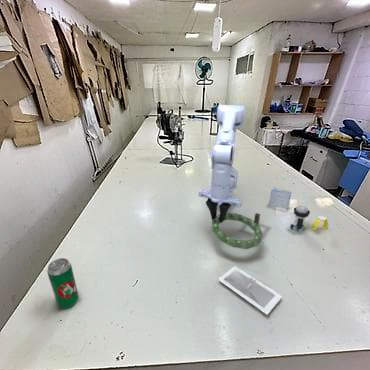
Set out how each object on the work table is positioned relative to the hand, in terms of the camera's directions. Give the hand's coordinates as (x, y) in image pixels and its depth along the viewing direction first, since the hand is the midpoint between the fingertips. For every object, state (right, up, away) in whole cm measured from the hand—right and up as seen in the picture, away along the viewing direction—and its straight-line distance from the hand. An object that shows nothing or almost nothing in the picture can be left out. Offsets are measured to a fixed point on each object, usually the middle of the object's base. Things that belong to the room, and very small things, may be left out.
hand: (217, 220), depth 79 cm
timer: (+40, -4, +9) cm, 41 cm away
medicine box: (+31, +2, +27) cm, 41 cm away
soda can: (-41, -18, -19) cm, 49 cm away
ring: (+6, -3, -3) cm, 7 cm away
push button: (+32, -6, +10) cm, 34 cm away
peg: (+16, -5, +11) cm, 20 cm away
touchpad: (+6, -17, -16) cm, 24 cm away
